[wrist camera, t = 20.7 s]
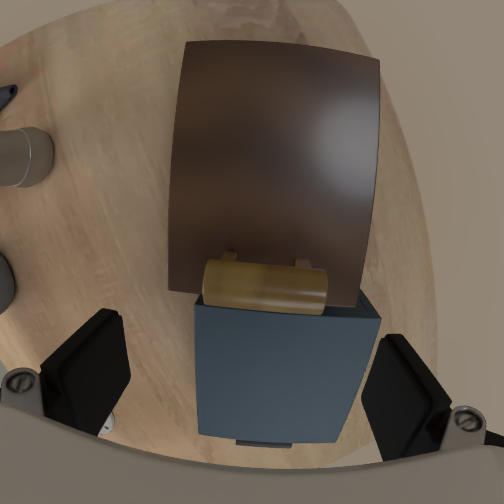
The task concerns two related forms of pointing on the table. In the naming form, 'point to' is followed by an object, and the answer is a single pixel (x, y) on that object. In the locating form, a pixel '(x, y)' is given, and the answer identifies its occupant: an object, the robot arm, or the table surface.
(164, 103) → the table surface
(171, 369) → the table surface
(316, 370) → the cabinet
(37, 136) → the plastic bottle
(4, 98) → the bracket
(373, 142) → the lid
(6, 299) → the smart speaker
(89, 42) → the table surface
